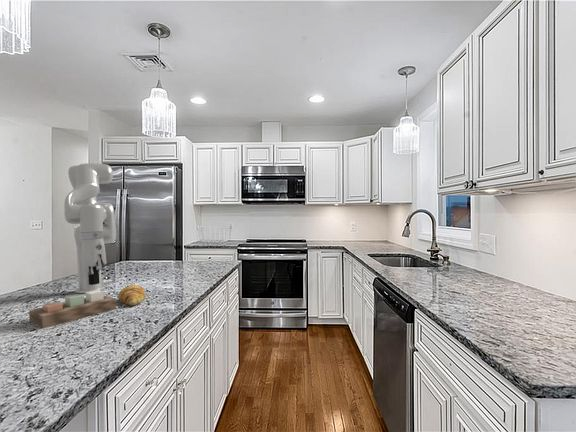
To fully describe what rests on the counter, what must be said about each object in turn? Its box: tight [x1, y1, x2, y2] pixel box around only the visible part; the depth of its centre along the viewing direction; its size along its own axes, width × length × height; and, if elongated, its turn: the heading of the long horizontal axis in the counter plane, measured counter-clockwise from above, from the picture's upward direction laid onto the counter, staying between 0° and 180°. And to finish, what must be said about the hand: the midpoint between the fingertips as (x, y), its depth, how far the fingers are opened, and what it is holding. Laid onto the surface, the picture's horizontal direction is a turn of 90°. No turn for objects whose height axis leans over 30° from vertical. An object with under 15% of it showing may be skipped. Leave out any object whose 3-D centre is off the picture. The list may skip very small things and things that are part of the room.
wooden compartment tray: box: [28, 295, 117, 329], centre depth 121 cm, size 24×12×4 cm, turn 145°
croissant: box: [117, 283, 146, 306], centre depth 138 cm, size 21×10×8 cm, turn 29°
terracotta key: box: [42, 301, 63, 313], centre depth 115 cm, size 4×4×4 cm
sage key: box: [64, 293, 85, 307], centre depth 121 cm, size 4×4×4 cm
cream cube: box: [84, 290, 105, 302], centre depth 127 cm, size 4×4×4 cm
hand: (94, 284), depth 126 cm, fingers closed
